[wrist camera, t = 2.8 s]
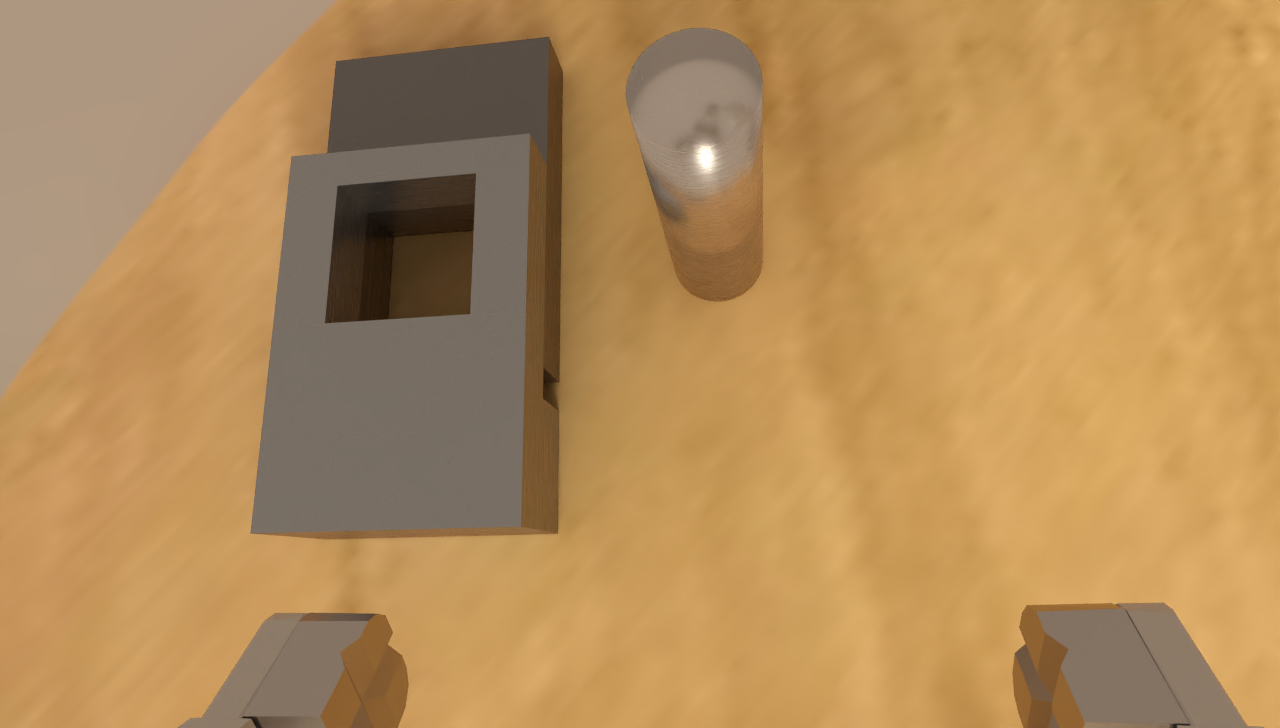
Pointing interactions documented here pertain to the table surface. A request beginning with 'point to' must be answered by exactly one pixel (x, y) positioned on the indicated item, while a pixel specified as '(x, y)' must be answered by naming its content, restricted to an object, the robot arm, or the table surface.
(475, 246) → the grey socket block
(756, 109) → the steel pin
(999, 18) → the table surface
